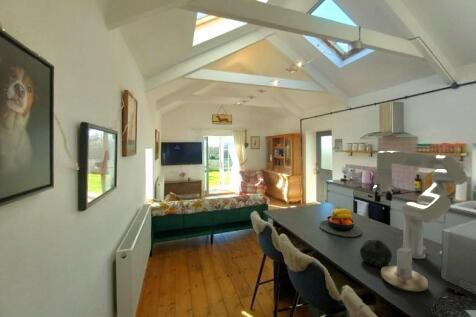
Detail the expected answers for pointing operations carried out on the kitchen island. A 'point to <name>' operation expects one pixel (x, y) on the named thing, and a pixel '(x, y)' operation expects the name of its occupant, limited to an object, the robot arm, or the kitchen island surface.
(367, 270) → the kitchen island surface
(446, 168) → the robot arm
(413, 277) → the turntable
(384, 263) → the squash
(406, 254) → the skincare box
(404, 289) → the turntable base
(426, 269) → the kitchen island surface
